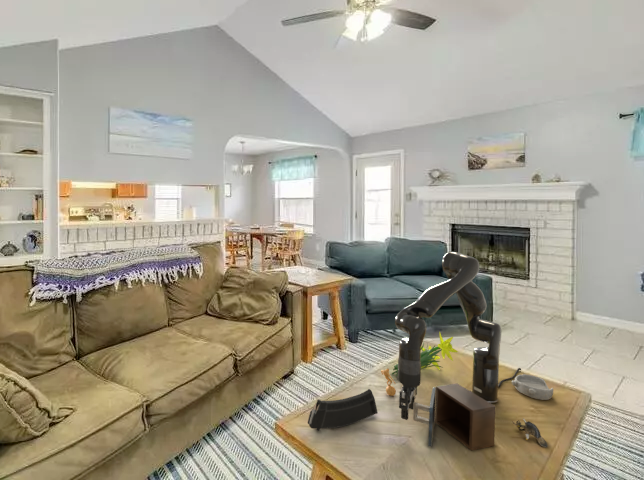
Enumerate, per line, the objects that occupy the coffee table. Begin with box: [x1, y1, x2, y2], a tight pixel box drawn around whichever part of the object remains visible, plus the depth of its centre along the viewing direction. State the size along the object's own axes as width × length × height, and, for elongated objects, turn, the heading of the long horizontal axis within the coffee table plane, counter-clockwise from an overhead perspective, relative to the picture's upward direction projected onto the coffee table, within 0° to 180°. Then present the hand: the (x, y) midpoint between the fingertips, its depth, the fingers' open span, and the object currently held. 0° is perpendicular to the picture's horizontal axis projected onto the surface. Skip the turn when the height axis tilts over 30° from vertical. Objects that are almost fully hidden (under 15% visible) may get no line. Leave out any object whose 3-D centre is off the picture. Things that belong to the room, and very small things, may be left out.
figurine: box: [380, 368, 397, 397], centre depth 161 cm, size 8×6×12 cm
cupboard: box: [435, 382, 497, 451], centre depth 136 cm, size 10×16×14 cm, turn 15°
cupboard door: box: [412, 386, 436, 448], centre depth 137 cm, size 6×16×14 cm, turn 148°
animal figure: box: [511, 418, 549, 448], centre depth 134 cm, size 8×7×9 cm
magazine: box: [307, 388, 379, 432], centre depth 142 cm, size 17×3×30 cm
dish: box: [510, 373, 554, 401], centre depth 165 cm, size 14×14×5 cm
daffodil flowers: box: [391, 331, 459, 378], centre depth 182 cm, size 17×15×35 cm
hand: (407, 413), depth 135 cm, fingers open, 8 cm apart
